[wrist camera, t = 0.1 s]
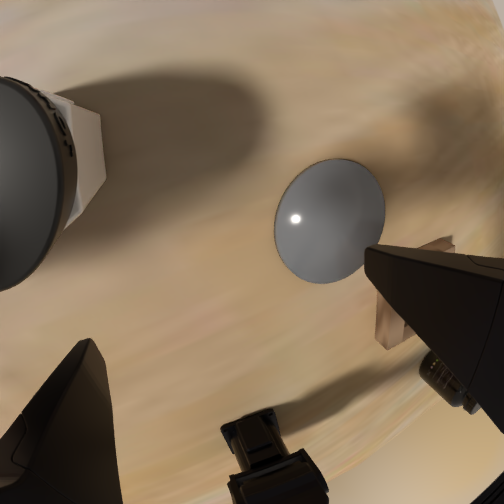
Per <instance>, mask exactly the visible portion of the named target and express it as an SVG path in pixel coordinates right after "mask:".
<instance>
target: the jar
mask: <svg viewBox="0 0 504 504" xmlns="http://www.w3.org/2000/svg"><path fill="white" fill-rule="evenodd" d="M106 178H107V177H106V169H105V161H104V152H103V143H102V132H101V120H100V115H99V114H98V113H96V112H93V111H90V110H88V109H85V108H82V107H80V106H77V105H74V101H71V100H69V99H66V98H64V97H61V96H58V95H55V94H52V93H49V92H46V91H43V90H40V89H37V88H34V87H32V86H31V85H30V84H27V83H25V82H22V81H20V80H17V79H14V78H11V77H1V76H0V292H1V291H4V290H7V289H10V288H12V287H14V286H16V285H18V284H19V283H21V282H22V281H24V280H25V279H26V278H28V277H29V276H30V275H31V274H32V273H33V272H34V271H35V270H36V269H37V268H38V266H39V265H40V264H41V263H42V261H43V260H44V258H45V257H46V255H47V254H48V252H49V251H50V249H51V248H52V246H53V245H54V244H55V242H56V241H57V239H58V238H59V236H60V235H61V233H62V231H63V230H64V229H66V228H67V227H68V226H69V225H70V224H71V223H72V222H73V221H74V220H75V219H76V218H77V217H78V216H79V215H81V214H82V212H83V211H84V209H85V208H86V207H87V205H88V204H89V202H90V201H91V200H92V198H93V197H94V195H95V194H96V193H97V191H98V190H99V189H100V187H101V186H102V185H103V183H104V182H105V181H106Z"/></svg>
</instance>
